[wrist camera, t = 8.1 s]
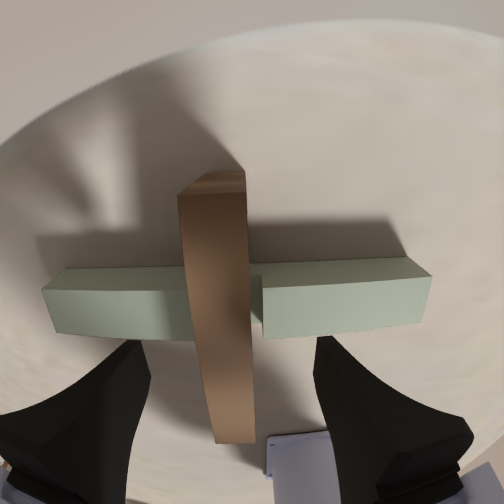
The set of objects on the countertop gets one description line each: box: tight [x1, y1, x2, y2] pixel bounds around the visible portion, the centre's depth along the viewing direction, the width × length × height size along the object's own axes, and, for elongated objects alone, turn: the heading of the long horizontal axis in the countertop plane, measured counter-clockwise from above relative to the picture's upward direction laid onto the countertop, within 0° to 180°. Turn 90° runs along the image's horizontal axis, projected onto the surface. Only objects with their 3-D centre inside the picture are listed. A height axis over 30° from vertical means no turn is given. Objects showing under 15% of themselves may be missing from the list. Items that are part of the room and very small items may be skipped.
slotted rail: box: [41, 257, 432, 341], centre depth 16 cm, size 3×22×3 cm, turn 92°
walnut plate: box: [177, 171, 256, 444], centre depth 14 cm, size 12×2×7 cm, turn 2°
